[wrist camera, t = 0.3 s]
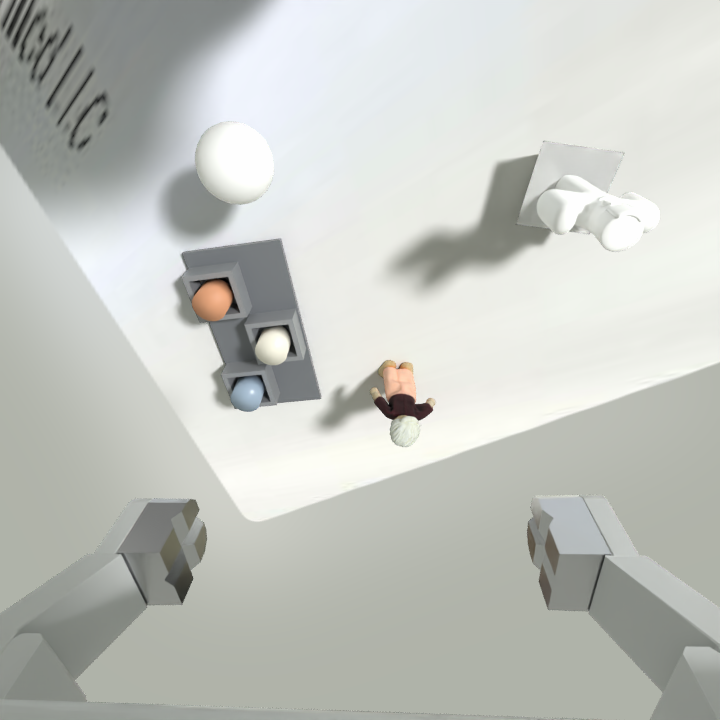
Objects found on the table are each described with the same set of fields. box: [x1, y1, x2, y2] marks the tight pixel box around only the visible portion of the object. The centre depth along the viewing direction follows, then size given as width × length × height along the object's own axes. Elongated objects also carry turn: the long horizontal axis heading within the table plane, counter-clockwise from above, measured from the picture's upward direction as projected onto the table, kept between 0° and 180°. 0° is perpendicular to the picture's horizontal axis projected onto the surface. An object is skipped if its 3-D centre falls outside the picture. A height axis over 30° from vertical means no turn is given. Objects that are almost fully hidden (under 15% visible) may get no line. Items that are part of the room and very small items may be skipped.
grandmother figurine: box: [370, 360, 435, 447], centre depth 51 cm, size 8×4×13 cm, turn 91°
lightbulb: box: [195, 121, 274, 205], centre depth 38 cm, size 6×6×11 cm
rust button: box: [192, 279, 234, 321], centre depth 48 cm, size 4×4×3 cm
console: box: [181, 239, 321, 409], centre depth 53 cm, size 22×11×3 cm, turn 8°
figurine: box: [516, 141, 660, 252], centre depth 37 cm, size 7×9×15 cm
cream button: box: [255, 325, 291, 365], centre depth 51 cm, size 4×4×3 cm
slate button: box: [231, 375, 265, 412], centre depth 55 cm, size 4×4×3 cm
